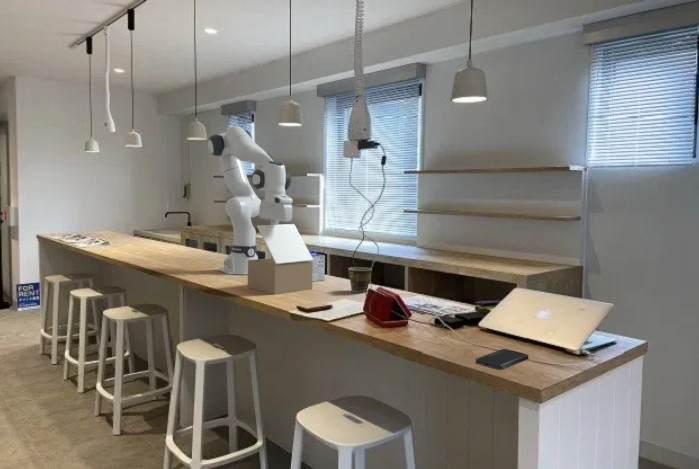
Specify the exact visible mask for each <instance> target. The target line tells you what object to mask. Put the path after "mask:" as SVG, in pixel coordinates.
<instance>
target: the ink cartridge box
mask: <svg viewBox="0 0 699 469" xmlns="http://www.w3.org/2000/svg"><path fill="white" fill-rule="evenodd" d="M308 251H309V253H310V255H311V256H312V258H313V261H310V262H313V272H312V282H319V281H325V276H326V275H325V268H326V267H325V266H326V264H325V263H326V261H325V258H326V255H325V254H320V253H317V251H316V249H308Z"/></svg>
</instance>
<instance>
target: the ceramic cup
mask: <svg viewBox="0 0 699 469" xmlns="http://www.w3.org/2000/svg"><path fill="white" fill-rule="evenodd" d="M347 270H348V278H349V282H350V289H351V292H352V293H353V294H354V293H355V294H366V293H368V290H367V289H369V284H370V280H371V275H372V268H370V267H361V266H355V267H348V269H347Z"/></svg>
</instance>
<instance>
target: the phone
mask: <svg viewBox="0 0 699 469" xmlns="http://www.w3.org/2000/svg"><path fill="white" fill-rule="evenodd" d="M528 359H529V354H528V353H523V352H519V351H515V350H512V349H507V348H502V349H499V350H497V351H496V350H495V351H494V352H491V353H488V354H486V355H482V356H479V357H477V358H476V359H475V363H476V362H477V363H476V364H480V365H482V364H483V365H482V366H486V367H489V366H490V368H493V369H497V370H504V369H506V368H509V367H511V366H513V365H516V364H519V363H521V362H523V361H525V360H528Z"/></svg>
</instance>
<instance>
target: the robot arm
mask: <svg viewBox="0 0 699 469" xmlns="http://www.w3.org/2000/svg"><path fill="white" fill-rule="evenodd" d="M207 147H208V150H209V152H210V154H211V155H212V156H215V157H219V162H220V168H221V171H222V176H223V178H224V179H223V180H224V183H225V185H226V188H227V189H228V191H230V192H231V193H232V195H233V197H231V198H229V199H228V200H227V201H226V202H225V206H224V210H225V213H226V215H227V216H228V217H229V218H230V221H231V225H232V229H233V230H232V231H233V245H231V246H230V248H231V253H230V254H229V255H227V257H225V259H224V260H223V267H221V268H220V267H219V269H218V271H220V272H222V273H225V274H227V275H248V260H257V259H259V257H258V254H257V249H258V248H257V245H256V244H257V243H256V242H257V241H256V240H257V239H256V238H257V232H256V228H255V227H254V226H253V222H252V219H251V218H255V217H257V216H259V219H262V220H270V225H280V222H291V221H292V219H293V205H292V204H293V202H294V201H293V198H291V197H290V196H288V195H287V194H286V191H287V190H288V189H289V188H290V187H291V185H292V176H291V174H290V173H289V170H287V169H286V166H285V164H284V163H283V162H281V161H276V160H275V158H273V156H271V154H270V153H268V152H267V151H266V150H265V149H263V148H262V147H260V146H259V145H258V144H257V143H256V142H255V141H254V140H253V137H252V134H251V132H250V131H249V130H247V129H244V128H242V127H241V126H238V125H233V126H230V127H229V128H228V129H227V130H226V132H221V133H218V134H217V133H216V134H213V135H211V136H209V138H208V140H207ZM243 162H245V163H248V164H249V163H250V164H254V165H259V166H260V167H261V168H257V169H255V170H254V171H253V173H252V175H251V183H250V182H249V178H248V176H247V173H246V169H245V167H244V164H243ZM251 184H252V186H253V187H252V186H251ZM253 188H254V189H255V190H256V191H257V190H258V191H264V197H263V198H262V199H261V198H259V197H258V195H257V194H256V193H255V191H254V189H253Z"/></svg>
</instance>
